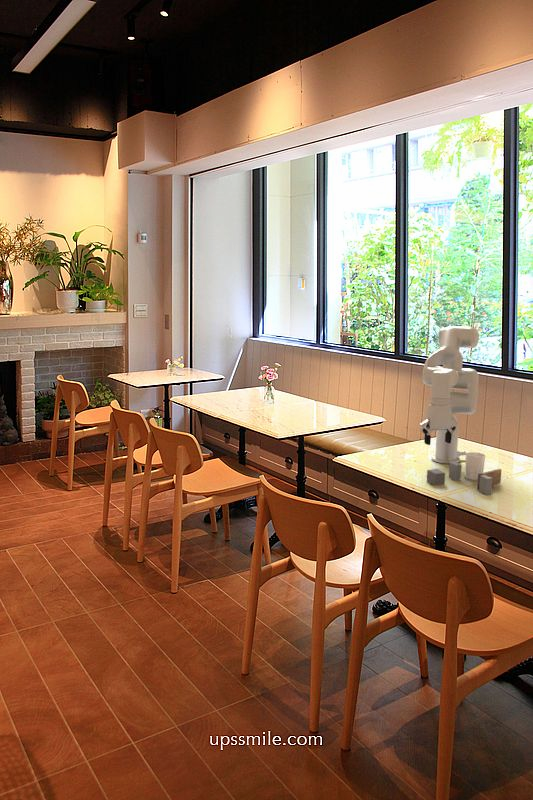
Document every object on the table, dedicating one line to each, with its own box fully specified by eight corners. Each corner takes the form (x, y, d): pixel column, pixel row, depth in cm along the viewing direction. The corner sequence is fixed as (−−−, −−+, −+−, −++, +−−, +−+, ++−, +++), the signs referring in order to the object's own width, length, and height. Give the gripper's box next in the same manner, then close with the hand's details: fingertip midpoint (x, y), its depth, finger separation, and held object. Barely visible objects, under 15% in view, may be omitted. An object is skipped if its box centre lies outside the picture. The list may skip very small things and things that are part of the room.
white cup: (461, 475, 317) (463, 452, 315) (479, 474, 318) (481, 452, 316) (468, 480, 309) (469, 457, 307) (486, 480, 310) (488, 457, 308)
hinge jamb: (483, 490, 296) (485, 474, 295) (491, 494, 292) (492, 478, 290) (478, 491, 295) (479, 475, 294) (486, 494, 291) (487, 478, 290)
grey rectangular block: (436, 480, 309) (436, 468, 308) (444, 484, 304) (445, 472, 303) (426, 481, 308) (427, 469, 307) (434, 485, 302) (435, 473, 301)
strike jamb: (453, 476, 315) (454, 461, 313) (460, 480, 310) (461, 464, 309) (448, 477, 314) (449, 462, 312) (455, 480, 309) (456, 465, 308)
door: (500, 484, 304) (501, 469, 303) (479, 490, 296) (480, 474, 294) (497, 483, 305) (498, 468, 304) (476, 489, 297) (477, 473, 296)
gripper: (452, 399, 306) (450, 440, 309) (416, 401, 300) (414, 442, 303) (463, 402, 299) (461, 444, 302) (426, 404, 293) (424, 447, 296)
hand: (437, 443), depth 302 cm, fingers open, 9 cm apart
